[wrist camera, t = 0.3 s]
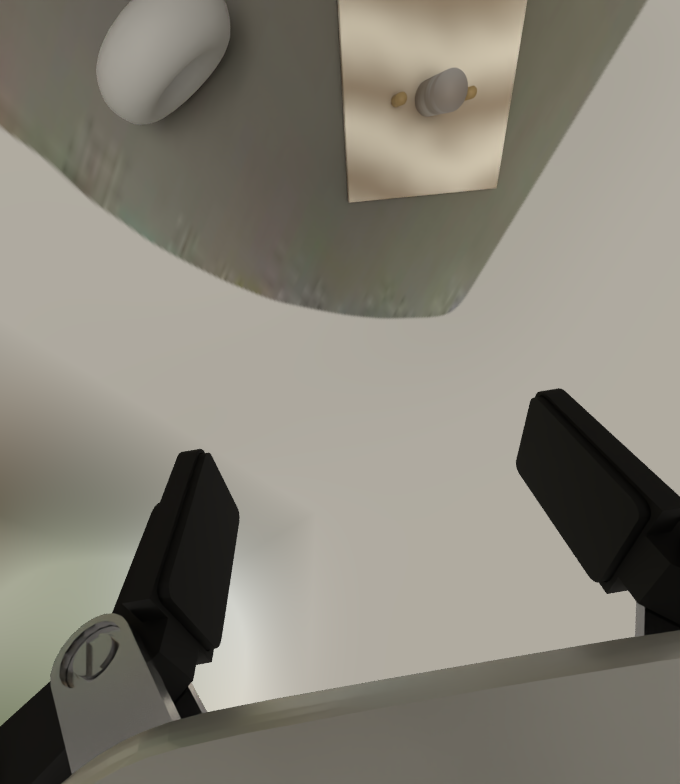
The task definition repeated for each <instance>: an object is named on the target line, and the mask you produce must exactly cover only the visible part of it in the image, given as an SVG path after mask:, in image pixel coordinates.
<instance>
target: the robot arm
mask: <svg viewBox="0 0 680 784" xmlns="http://www.w3.org/2000/svg"><path fill="white" fill-rule="evenodd" d="M516 467H517V470H518V472H519V474H520V475H521V477H522V478H523V480H524V481H525V483H526V484H527V486H528V487H529V489H530V490H531V492H532V493H533V494H534V496H535V498H536V499H537V501H538V502H539V503H540V505H541V506H542V508H543V509H544V511H545V512H546V514H547V515H548V517H549V518H550V520H551V521H552V523H553V524H554V525H555V527H556V529H557V530H558V532H559V533H560V535H561V536H562V537H563V539H564V540H565V542H566V543H567V545H568V546H569V548H570V549H571V551H572V552H573V554H574V555H575V557H576V558H577V559H578V561H579V563H580V564H581V566H582V567H583V568H584V570H585V571H586V573H587V574H588V576H589V577H590V578H591V579H592V580H593V581H595V582H599V583H600V585H601V586H602V588H603V589H604V590H605V592H606V593H607V594H609V593H615V592H621V591H627V590H628V591H629V592H630V593H631V595H632V596H633V597H634V599H635V600H636V629H635V630H636V631H635V637H631V638H624V639H618V640H612V641H606V642H600V643H594V644H588V645H582V646H576V647H570V648H565V649H558V650H552V651H546V652H540V653H534V654H528V655H523V656H516V657H511V658H505V659H499V660H493V661H488V662H482V663H476V664H470V665H465V666H459V667H453V668H447V669H441V670H435V671H430V672H424V673H419V674H412V675H407V676H401V677H395V678H389V679H384V680H378V681H373V682H368V683H361V684H356V685H350V686H344V687H339V688H333V689H328V690H322V691H316V692H311V693H305V694H300V695H294V696H289V697H283V698H277V699H272V700H267V701H262V702H257V703H252V704H247V705H242V706H237V707H232V708H226V709H222V710H217V711H212V712H207V711H206V709H205V707H204V705H203V703H202V702H201V700H200V698H199V696H198V695H197V693H196V691H195V689H194V687H193V685H192V683H191V682H192V681H193V678H194V673H195V667H196V665H198V664H204V663H209V662H212V657H213V650H214V649H215V648H218V647H219V645H220V642H221V638H222V631H223V625H224V618H225V612H226V605H227V599H228V592H229V585H230V579H231V572H232V565H233V559H234V552H235V545H236V539H237V532H238V526H239V511H238V508H237V506H236V504H235V502H234V500H233V498H232V496H231V494H230V492H229V490H228V488H227V486H226V484H225V482H224V480H223V478H222V476H221V474H220V472H219V470H218V468H217V466H216V464H215V462H214V460H213V458H212V456H211V454H210V453H205V452H204V451H203V450H202V449H197V450H191V451H185V452H181V453H179V455H178V457H177V459H176V462H175V464H174V467H173V470H172V472H171V475H170V478H169V481H168V483H167V485H166V488H165V491H164V493H163V496H162V499H161V501H160V503H158V504H157V505H156V506H155V507H154V509H153V511H152V513H151V515H150V518H149V520H148V523H147V526H146V528H145V531H144V533H143V536H142V538H141V541H140V543H139V546H138V548H137V551H136V554H135V556H134V559H133V561H132V564H131V566H130V569H129V571H128V574H127V577H126V579H125V582H124V584H123V587H122V589H121V592H120V594H119V597H118V600H117V602H116V605H115V607H114V610H113V612H112V613H111V614H103V615H100V616H98V617H95V618H93V619H91V620H90V621H88V622H87V623H85V624H84V625H82V626H81V627H80V628H79V629H78V630H77V631H76V632H75V633H73V634H72V635H71V637H70V638H69V639H68V640H67V642H66V643H65V644H64V645H63V647H62V648H61V650H60V651H59V654H58V655H57V657H56V659H55V661H54V664H53V667H52V671H51V675H50V677H51V681H50V682H49V683H48V684H47V685H46V686H45V687H43V688H42V689H41V690H40V691H39V692H38V693H37V694H36V695H35V696H33V697H32V698H31V699H30V700H29V701H28V702H27V703H26V704H25V705H24V706H22V707H21V708H20V709H19V710H18V711H17V712H16V713H15V714H14V715H13V716H11V717H10V718H9V719H8V720H7V721H6V722H5V723H4V724H3V725H1V726H0V784H680V496H678V495H677V494H676V493H675V492H674V491H673V490H672V489H671V488H670V487H669V486H667V485H666V484H665V483H664V482H663V481H662V480H661V479H660V478H659V477H658V476H657V475H655V473H653V472H652V471H651V470H650V469H649V468H648V467H647V466H646V465H645V464H644V463H643V462H641V461H640V460H639V459H638V458H637V457H636V456H635V455H634V454H633V453H632V452H631V451H629V450H628V449H627V448H626V447H625V446H624V445H623V444H622V443H621V442H620V441H619V440H617V439H616V438H615V437H614V436H613V435H612V434H611V433H609V431H608V430H607V429H606V428H605V427H603V426H602V425H601V424H600V423H599V422H598V421H597V420H596V419H595V418H594V417H593V416H591V415H590V414H589V413H588V412H587V411H586V410H585V409H584V408H583V407H582V406H581V405H580V404H578V403H577V402H576V401H575V400H574V399H573V398H572V397H571V396H570V395H569V394H568V393H566V392H565V391H564V390H562V389H559V388H558V389H553V390H547V391H541V392H538V393H537V394H536V396H535V398H532V399H531V401H530V405H529V409H528V413H527V417H526V422H525V426H524V430H523V434H522V438H521V443H520V447H519V451H518V455H517V460H516Z"/></svg>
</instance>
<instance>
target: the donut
mask: <svg viewBox="0 0 680 784" xmlns="http://www.w3.org/2000/svg"><path fill="white" fill-rule="evenodd" d="M229 39H230V17H229V12H228V8H227V5H226V2H225V0H132V1H131V2H130V3H129V4H128V5H127V6H126V7H125V8H124V9H123V10H122V11H121V13H120V14H119V16H118V17H117V18H116V20H115V21H114V23H113V24H112V26H111V27H110V28H109V30H108V32H107V35H106V37H105V39H104V41H103V43H102V45H101V48H100V52H99V56H98V61H97V66H96V74H97V81H98V85H99V89H100V91H101V94H102V97H103V99H104V101H105V102H106V103H107V105H108V106H109V108H110V109H111V110H112V111H113V112H114V113H115V114H117V115H118V116H119V117H121V118H123V119H125V120H127V121H128V122H130V123H132V124H137V125H145V124H150V123H155V122H157V121H159V120H161V119H163V118H165V117H166V116H167V115H169V114H170V113H172V112H173V111H175V110H176V109H177V108H178V107H179V106H181V105H182V104H183V103H184V102H185V101H186V100H188V99H189V98H190V97H191V96H192V95H193V94H194V93H195V92H196V91H197V90H198V89H199V88H200V86H201V85H202V84H203V83H204V82H205V81H206V80H207V79H208V77H209V76H210V75H211V73H212V72H213V71H214V70H215V68H216V67H217V66H218V64H219V62H220V61H221V59H222V57H223V56H224V54H225V51H226V49H227V46H228V43H229Z"/></svg>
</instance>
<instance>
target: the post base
mask: <svg viewBox="0 0 680 784" xmlns="http://www.w3.org/2000/svg"><path fill="white" fill-rule="evenodd" d="M337 2H338V21H339V40H340V59H341V78H342V96H343V115H344V134H345V153H346V172H347V191H348V202H349V203H350V202H360V201H370V200H380V199H390V198H401V197H411V196H421V195H431V194H441V193H452V192H462V191H472V190H482V189H492V188H497V182H498V176H499V170H500V164H501V157H502V151H503V145H504V139H505V133H506V127H507V121H508V115H509V108H510V102H511V96H512V90H513V84H514V78H515V72H516V66H517V60H518V53H519V47H520V41H521V35H522V29H523V23H524V17H525V11H526V4H527V0H337Z"/></svg>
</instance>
